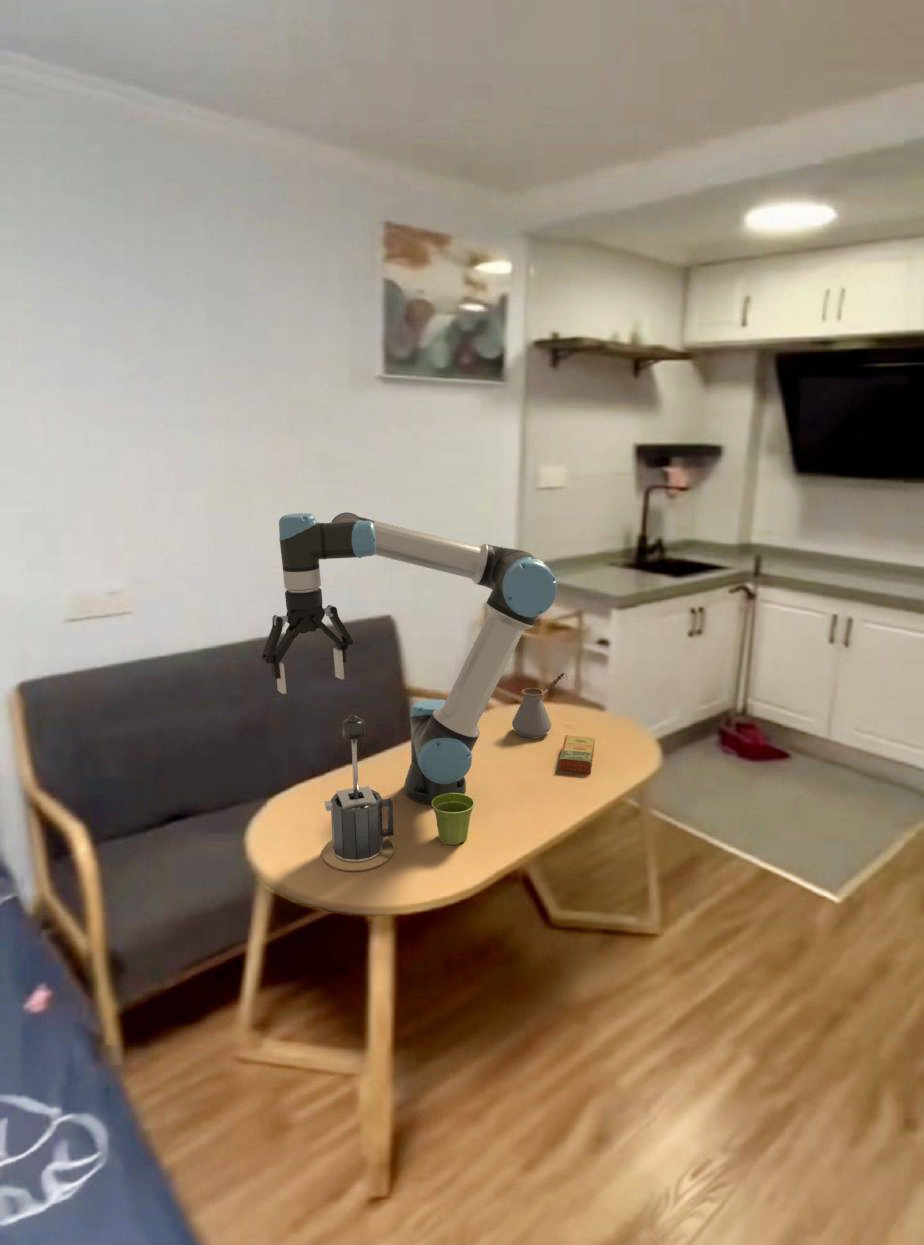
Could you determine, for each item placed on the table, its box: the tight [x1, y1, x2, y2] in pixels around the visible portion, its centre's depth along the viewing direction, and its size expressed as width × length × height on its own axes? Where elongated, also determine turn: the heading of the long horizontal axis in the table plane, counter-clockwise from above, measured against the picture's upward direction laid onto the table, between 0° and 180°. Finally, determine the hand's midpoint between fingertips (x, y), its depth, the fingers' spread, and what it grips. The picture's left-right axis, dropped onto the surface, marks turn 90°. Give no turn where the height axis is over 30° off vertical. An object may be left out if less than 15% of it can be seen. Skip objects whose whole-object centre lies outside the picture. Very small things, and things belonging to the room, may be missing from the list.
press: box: [321, 785, 395, 873], centre depth 167 cm, size 15×15×13 cm
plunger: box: [340, 714, 371, 809], centre depth 164 cm, size 7×7×21 cm
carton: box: [558, 734, 595, 775], centre depth 213 cm, size 8×16×4 cm, turn 167°
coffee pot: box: [511, 672, 568, 739], centre depth 233 cm, size 21×12×15 cm, turn 136°
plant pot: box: [430, 793, 475, 846], centre depth 173 cm, size 9×9×9 cm
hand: (311, 684), depth 171 cm, fingers open, 13 cm apart
